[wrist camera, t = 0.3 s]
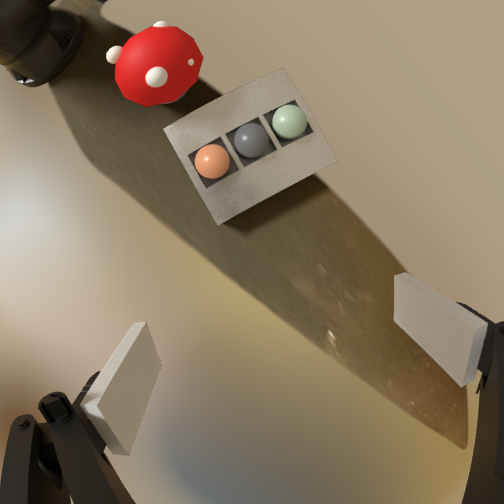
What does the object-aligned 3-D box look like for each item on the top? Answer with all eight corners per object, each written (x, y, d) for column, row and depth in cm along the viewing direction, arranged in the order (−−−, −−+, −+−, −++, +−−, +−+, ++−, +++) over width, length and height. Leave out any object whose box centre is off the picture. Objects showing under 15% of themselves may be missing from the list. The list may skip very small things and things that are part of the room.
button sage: (265, 117, 33) (267, 113, 31) (293, 104, 33) (296, 99, 31) (281, 144, 34) (284, 142, 32) (308, 131, 34) (313, 128, 32)
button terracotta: (191, 157, 34) (188, 155, 32) (220, 141, 34) (219, 138, 32) (207, 184, 35) (205, 184, 33) (235, 168, 35) (235, 167, 33)
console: (169, 133, 36) (163, 129, 32) (279, 76, 35) (283, 67, 31) (219, 222, 39) (217, 225, 36) (329, 163, 38) (337, 161, 34)
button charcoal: (228, 136, 34) (228, 133, 32) (257, 121, 34) (258, 117, 31) (244, 163, 35) (244, 162, 33) (273, 148, 34) (275, 146, 32)
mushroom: (132, 60, 33) (100, 25, 21) (205, 44, 33) (195, 0, 21) (135, 124, 35) (97, 104, 24) (212, 109, 35) (201, 79, 24)
